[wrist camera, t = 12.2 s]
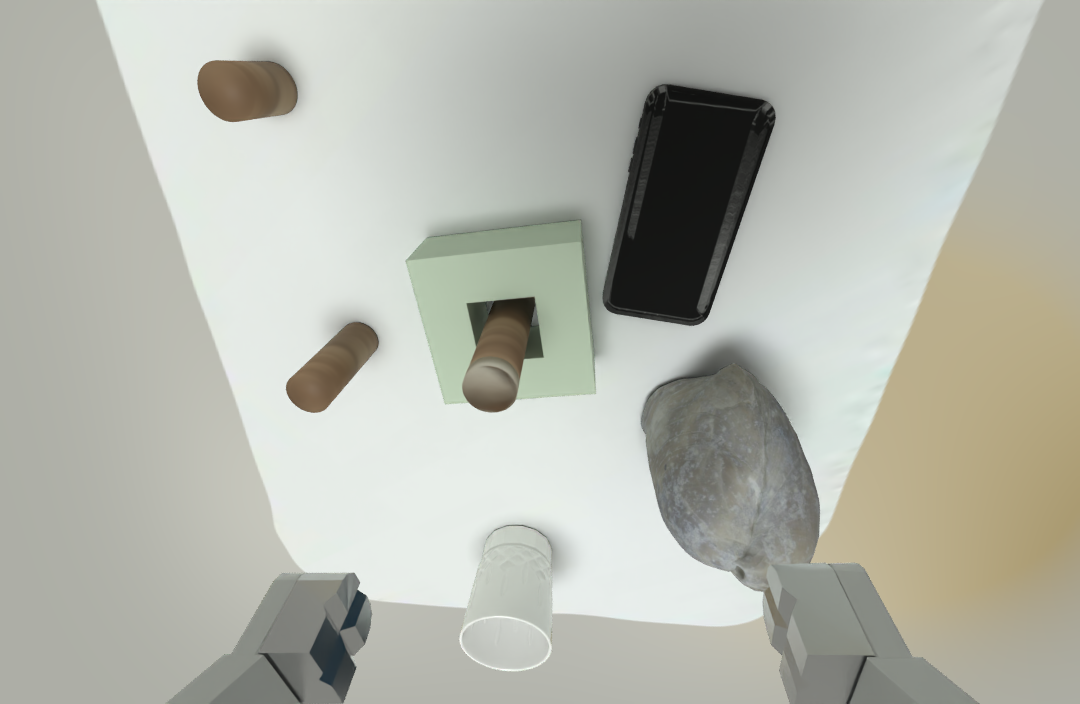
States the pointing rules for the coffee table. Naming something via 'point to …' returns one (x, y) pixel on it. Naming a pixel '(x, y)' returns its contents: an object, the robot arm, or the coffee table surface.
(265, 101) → the pin short
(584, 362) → the socket block
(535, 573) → the white cup
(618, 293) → the phone
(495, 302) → the pin long
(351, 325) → the pin medium
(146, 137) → the coffee table surface
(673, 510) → the decorative stone
